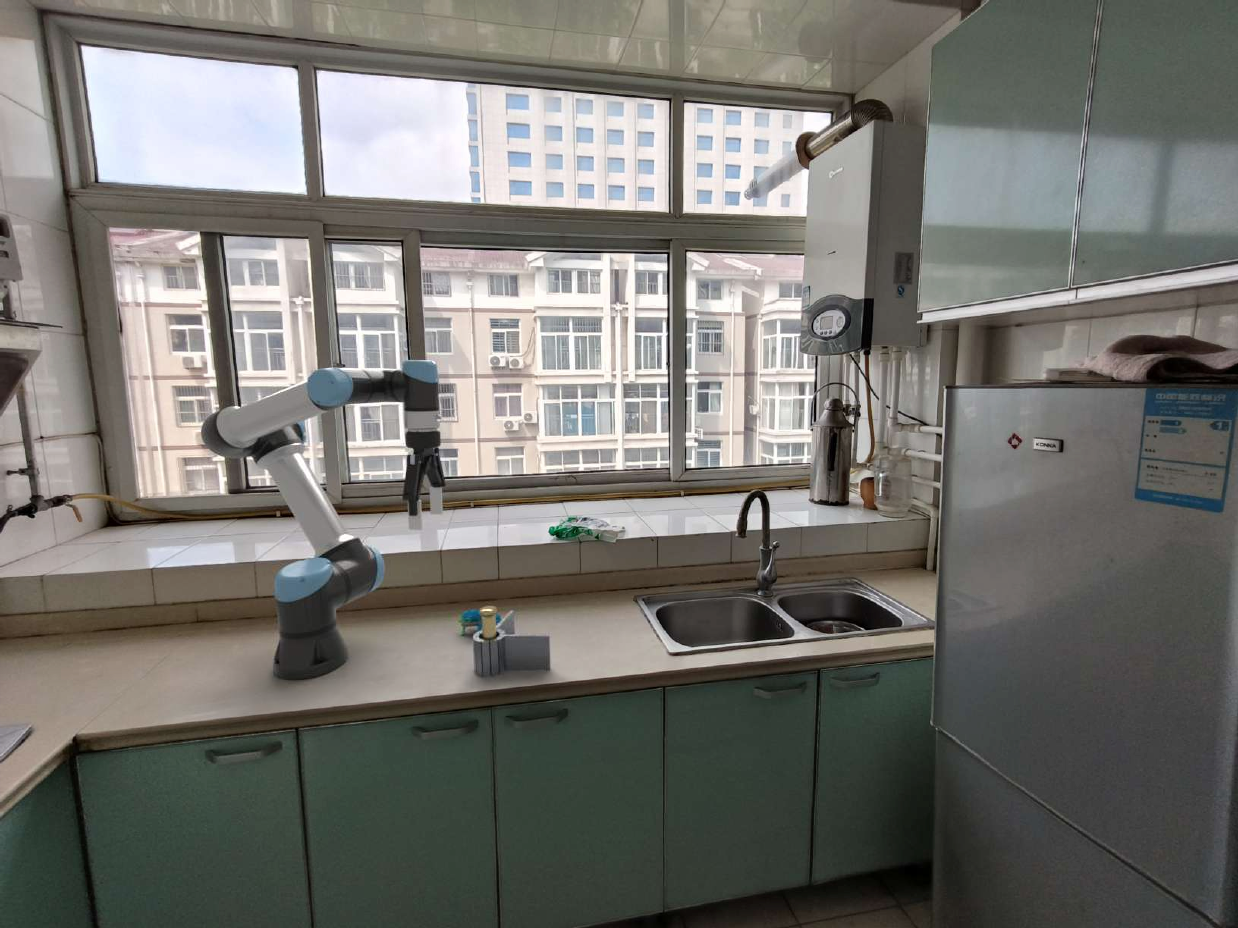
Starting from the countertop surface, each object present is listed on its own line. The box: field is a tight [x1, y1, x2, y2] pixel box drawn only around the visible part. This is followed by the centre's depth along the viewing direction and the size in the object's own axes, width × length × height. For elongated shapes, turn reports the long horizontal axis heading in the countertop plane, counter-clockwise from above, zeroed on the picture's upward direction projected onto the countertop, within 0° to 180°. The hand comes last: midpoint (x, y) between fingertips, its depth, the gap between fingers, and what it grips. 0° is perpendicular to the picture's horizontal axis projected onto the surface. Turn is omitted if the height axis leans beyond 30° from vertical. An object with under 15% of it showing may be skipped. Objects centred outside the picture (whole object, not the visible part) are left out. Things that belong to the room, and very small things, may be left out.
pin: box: [478, 605, 498, 640], centre depth 129 cm, size 4×4×14 cm
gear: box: [458, 608, 502, 636], centre depth 147 cm, size 11×6×10 cm
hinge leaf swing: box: [496, 610, 516, 634], centre depth 138 cm, size 10×1×8 cm, turn 169°
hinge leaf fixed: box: [472, 629, 551, 678], centre depth 129 cm, size 17×7×8 cm, turn 89°
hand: (426, 521), depth 133 cm, fingers open, 13 cm apart
